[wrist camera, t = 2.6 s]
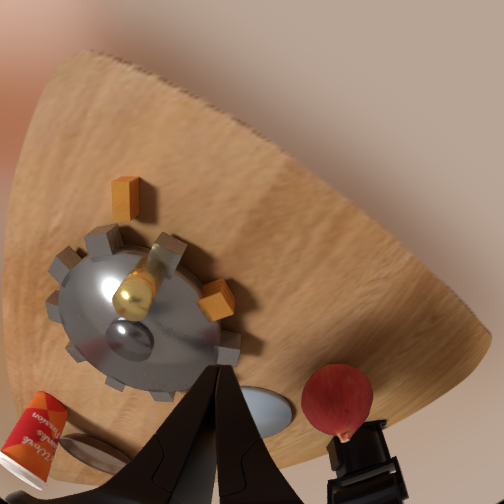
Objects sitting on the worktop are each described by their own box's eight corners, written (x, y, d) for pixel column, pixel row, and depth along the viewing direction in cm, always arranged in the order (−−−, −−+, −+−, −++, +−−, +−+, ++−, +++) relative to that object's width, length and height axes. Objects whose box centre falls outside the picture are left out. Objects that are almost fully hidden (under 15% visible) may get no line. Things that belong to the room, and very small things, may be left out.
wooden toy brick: (190, 178, 16) (185, 183, 15) (191, 359, 23) (188, 373, 21) (80, 176, 16) (67, 181, 15) (107, 345, 22) (100, 357, 21)
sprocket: (251, 233, 17) (251, 277, 12) (234, 395, 24) (232, 444, 19) (40, 218, 17) (-6, 247, 12) (81, 368, 23) (60, 407, 18)
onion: (371, 349, 22) (401, 420, 15) (338, 389, 25) (356, 457, 17) (315, 337, 22) (337, 419, 14) (285, 381, 24) (294, 456, 16)
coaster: (300, 387, 24) (301, 394, 23) (281, 435, 28) (282, 441, 28) (192, 381, 24) (191, 387, 23) (197, 431, 28) (196, 436, 27)
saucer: (137, 473, 38) (135, 484, 35) (68, 445, 35) (64, 455, 33) (144, 451, 32) (141, 465, 30) (57, 414, 30) (51, 426, 27)
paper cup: (83, 423, 30) (56, 498, 17) (49, 414, 30) (20, 479, 17) (56, 389, 26) (16, 471, 14) (22, 381, 27) (-16, 450, 14)
